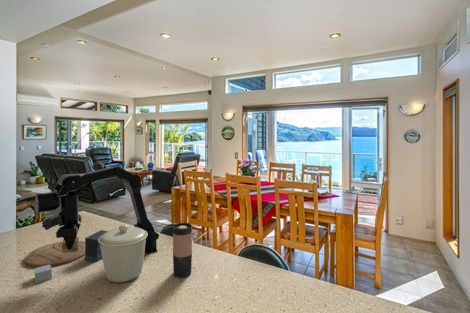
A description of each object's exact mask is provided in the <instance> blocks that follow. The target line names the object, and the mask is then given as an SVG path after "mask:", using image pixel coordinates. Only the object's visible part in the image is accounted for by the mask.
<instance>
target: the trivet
mask: <svg viewBox="0 0 470 313" xmlns="http://www.w3.org/2000/svg"><path fill="white" fill-rule="evenodd" d="M84 257H85V240H79V248H78V251H75V252H69V253H63V254H62V241H58V242H52V243H48V244H46V245H43V246H40V247H38V248H35V249H33V250H31V251H30V252H28V253H27V255H26V256H25V258H24V260H25V264H26V266H29V267H31V268H38V267H42V266H46V265H49V264H50V266H51V268H53V267H59V266H63V265H67V264H70V263H72V262H75V261H78V260H80V259H81V258H84Z"/></svg>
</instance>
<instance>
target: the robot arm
mask: <svg viewBox="0 0 470 313" xmlns="http://www.w3.org/2000/svg"><path fill="white" fill-rule="evenodd" d="M112 177H116V178H117V179H118V180H121V181H122V184H123V186H124V187H125V190H127V192H128V194H129V196H130V199H131V204H132V206H133V209H134V214H135V217H136V224H133V227H137V228H141V229H143V230H145V231H147V233H148V236H147V237H146V243H145V253H144V255H145V254H150V253H156V252H158V249H157V240H159V239H160V238H159V237H160V234H159V233H158V232H157V231H155V228H154V225H153V224H152V222H151V220H149V218H148V215H147V211H146V208H145V203H144V201H143V196H142V193H141V190H142V185H143V184H142V179H141V176H140V175H139V174H135V173H132V172H129V171H127V170H126V169H124V168H123V167H121V166H119V165H112V166H110V167H106V168H102V169H101V168H100V169H97V170H93V171H89V172H84V173H65V174H62V175H60V176H59V177H58V179H57V183H56V185H55V186H54V187H53V189H52V190H51V191H49V192H44V193H43V192H39V193H36V194H35V198H34V201H33V205H34V210H35V213H36V214H39V213H44V212H51V211H56V210H57V209H58V208H59V207H60V208H59V209H60V210H59V212H58V213H57V214H55V215H52V216H50V217H49V216H48V217H47V218H45V219H44V220H42V222H41V225H42V227H41V228H44V230H45V231H48V230H50V229H51V228H53V227H56V226H58V227H59V228H57V230H56V232H55V238H57V239H61V238H62V239H64V240H65V243H66V245H67V248H68V250H70V249H72V246H73V244H74V241H75V239H76V237H78V236H77V235H78V233H79V229H80V227H81V223H82V215H81V214H79V211H80V209H79V208H80V207H79V196H80V195H81V196H83V195H84V194H85V193H84V192H83V191H81V189H80V188H82V187H84V186H85V185H88V184H90V183H92V182H94V183H95V182H97V181H101V180H105V179H108V178H112Z"/></svg>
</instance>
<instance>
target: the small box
mask: <svg viewBox="0 0 470 313" xmlns="http://www.w3.org/2000/svg"><path fill="white" fill-rule="evenodd" d="M108 231H109V230H103V229H100V230H99V231H97V232H95V233H93V234H90V235H88V236H86V237H85V238H84V242H85V256H84V258H85V259H84V260H85V261H88V262H96V263H97V262H98V261H101V260H103V259H102V252H101V245H100V243H99V242H98V239H99V237H100V236H102V235H103V234H105V233H106V232H108Z"/></svg>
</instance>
